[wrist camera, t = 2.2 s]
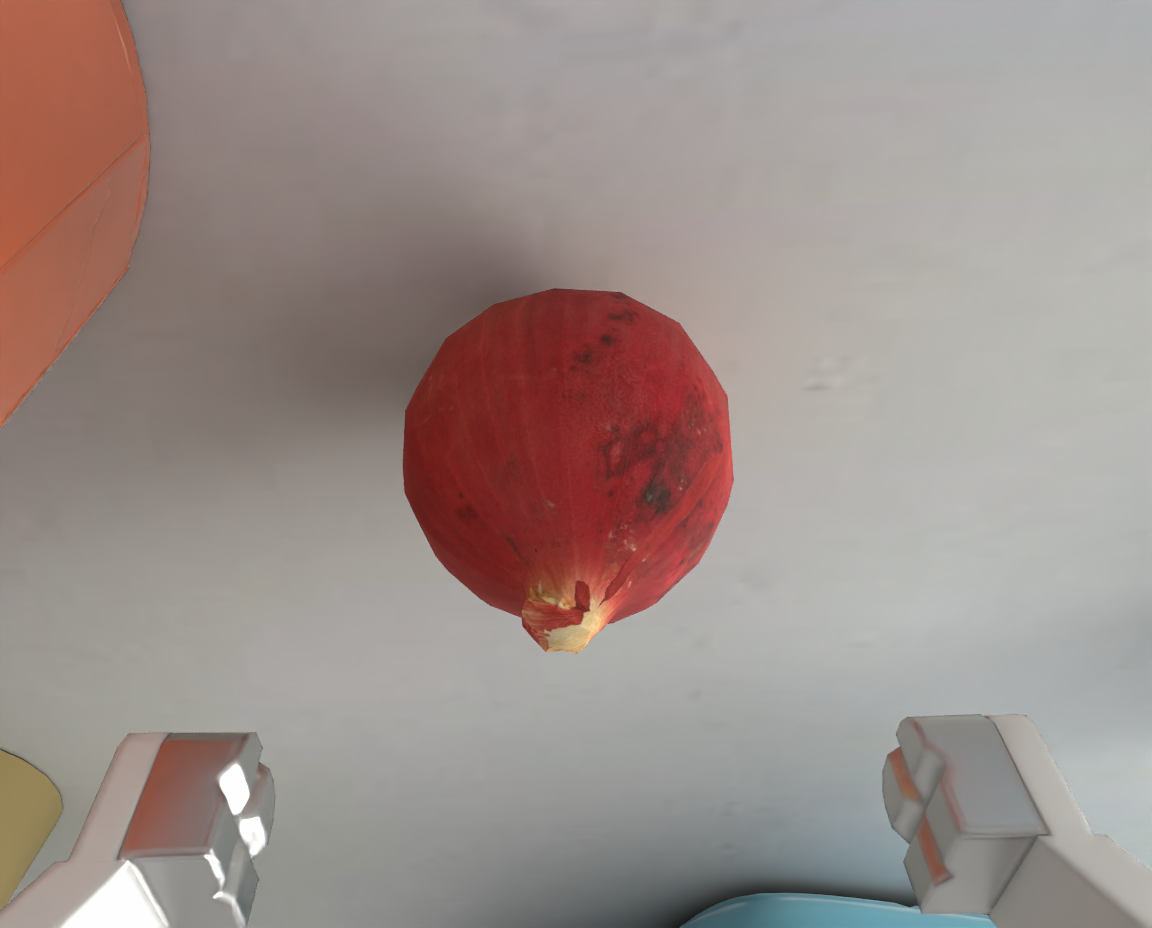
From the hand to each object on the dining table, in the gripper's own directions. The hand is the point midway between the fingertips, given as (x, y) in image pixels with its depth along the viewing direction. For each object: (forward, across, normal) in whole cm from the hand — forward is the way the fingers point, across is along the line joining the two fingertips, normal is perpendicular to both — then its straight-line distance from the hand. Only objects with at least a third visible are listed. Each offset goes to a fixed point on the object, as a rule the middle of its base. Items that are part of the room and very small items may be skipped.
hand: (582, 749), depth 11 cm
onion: (+10, 0, 0) cm, 10 cm away
